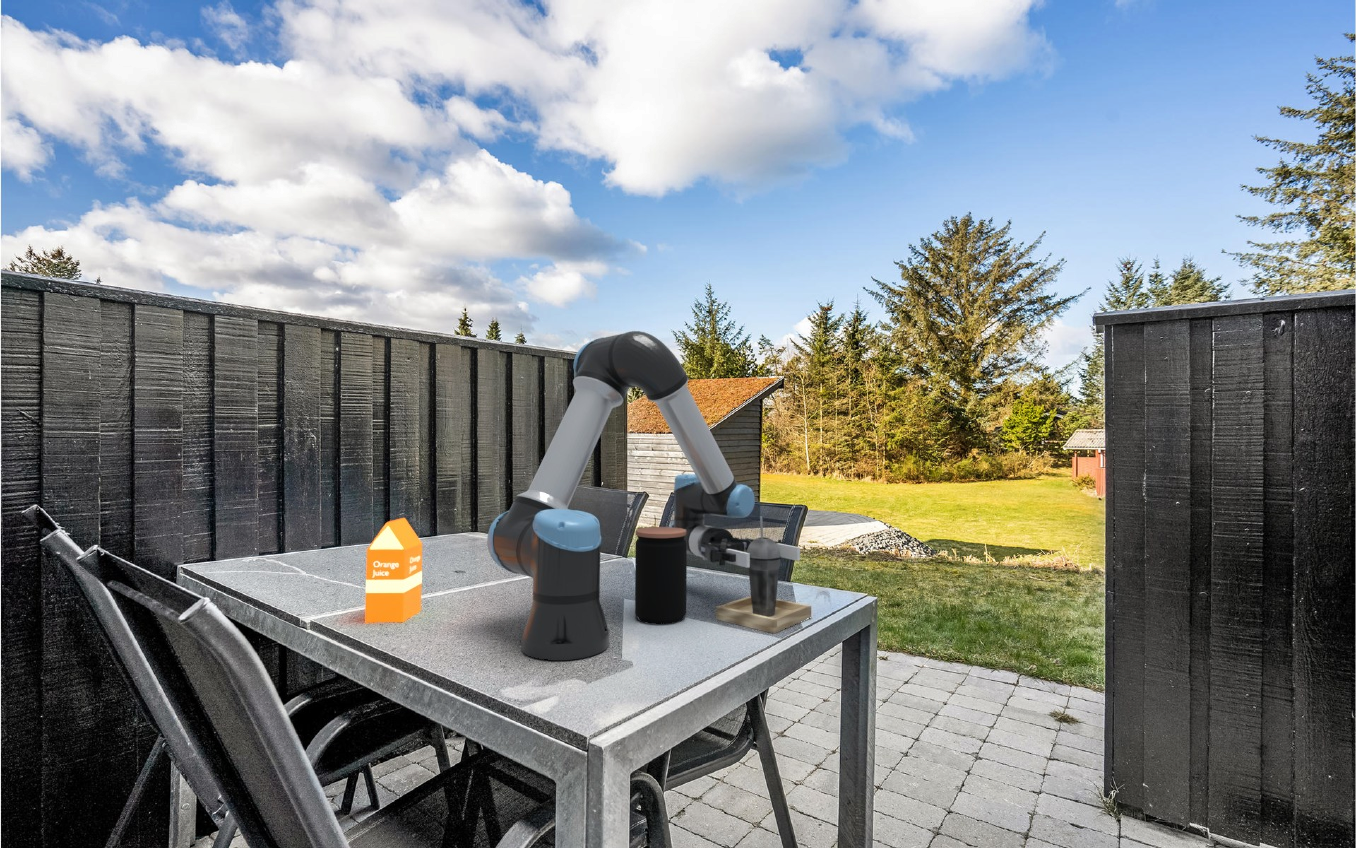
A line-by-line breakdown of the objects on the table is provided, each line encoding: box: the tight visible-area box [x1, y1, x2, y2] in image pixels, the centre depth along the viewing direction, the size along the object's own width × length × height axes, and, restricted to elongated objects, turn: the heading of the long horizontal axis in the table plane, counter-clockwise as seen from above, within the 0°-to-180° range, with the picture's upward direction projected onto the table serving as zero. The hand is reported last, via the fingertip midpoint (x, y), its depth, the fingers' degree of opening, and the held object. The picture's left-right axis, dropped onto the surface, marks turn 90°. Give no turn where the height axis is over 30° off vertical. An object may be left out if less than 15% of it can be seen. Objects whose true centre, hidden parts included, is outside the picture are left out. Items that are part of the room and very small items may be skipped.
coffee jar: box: [634, 526, 688, 625], centre depth 121 cm, size 11×11×18 cm
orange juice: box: [364, 517, 423, 624], centre depth 121 cm, size 8×9×20 cm
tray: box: [715, 595, 812, 634], centre depth 120 cm, size 14×14×2 cm
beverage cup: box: [746, 515, 782, 617], centre depth 120 cm, size 7×7×20 cm
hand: (774, 557), depth 118 cm, fingers open, 13 cm apart
